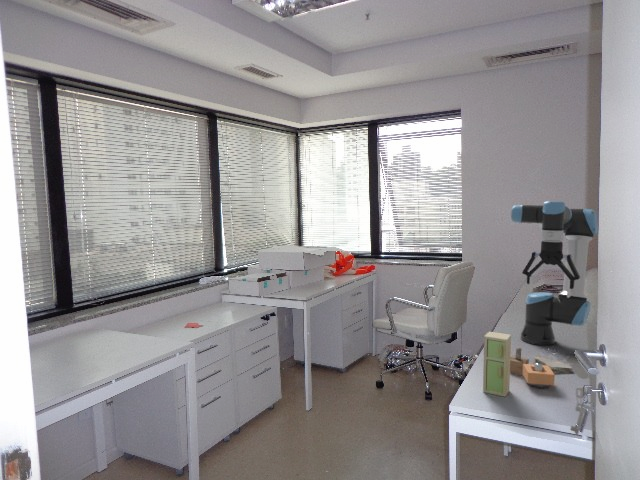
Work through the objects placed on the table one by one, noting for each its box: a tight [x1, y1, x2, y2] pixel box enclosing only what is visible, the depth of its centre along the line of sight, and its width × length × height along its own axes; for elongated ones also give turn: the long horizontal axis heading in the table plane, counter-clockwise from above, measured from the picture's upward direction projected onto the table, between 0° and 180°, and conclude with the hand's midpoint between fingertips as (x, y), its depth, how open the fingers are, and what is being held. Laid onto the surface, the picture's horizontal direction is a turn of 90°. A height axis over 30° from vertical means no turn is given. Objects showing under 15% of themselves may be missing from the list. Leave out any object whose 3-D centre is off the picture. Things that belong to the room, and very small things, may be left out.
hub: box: [526, 362, 549, 390], centre depth 173 cm, size 7×7×8 cm
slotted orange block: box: [522, 363, 556, 386], centre depth 173 cm, size 9×9×4 cm
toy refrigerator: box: [482, 331, 512, 398], centre depth 166 cm, size 8×7×21 cm
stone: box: [532, 355, 574, 375], centre depth 191 cm, size 15×11×3 cm
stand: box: [510, 346, 530, 376], centre depth 186 cm, size 6×6×10 cm
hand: (549, 294), depth 182 cm, fingers open, 13 cm apart
